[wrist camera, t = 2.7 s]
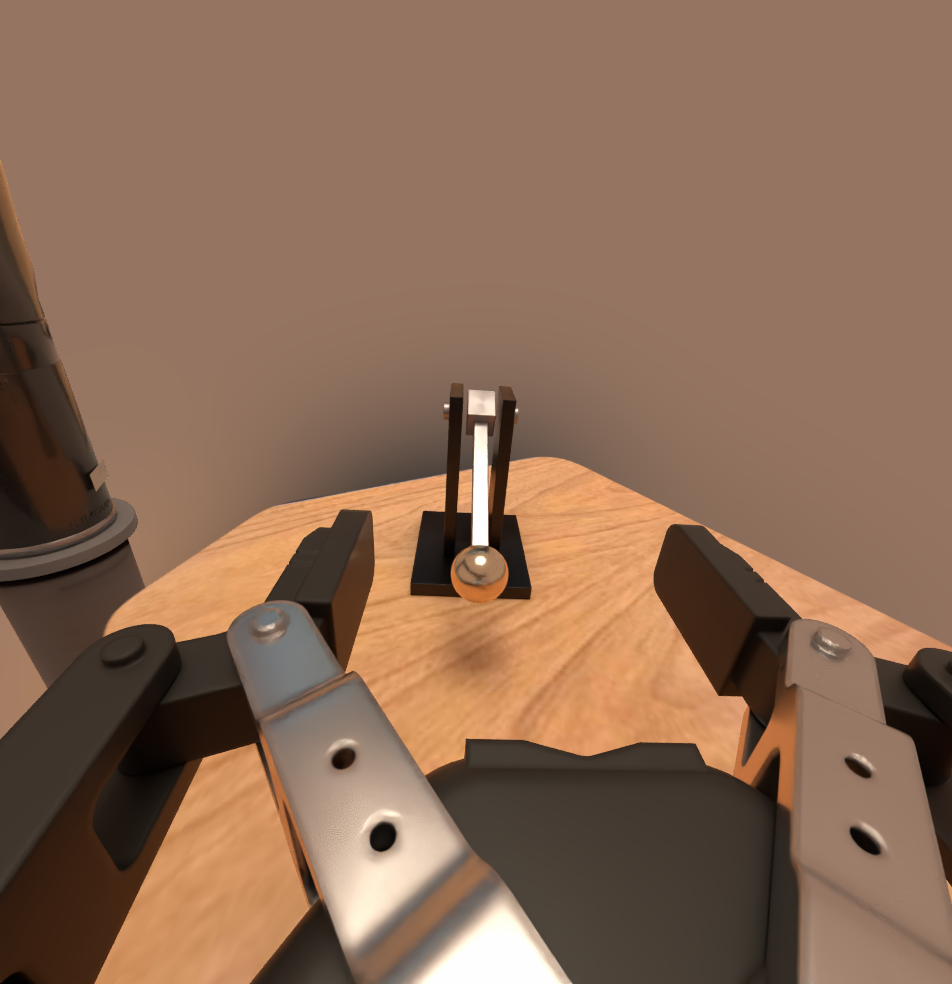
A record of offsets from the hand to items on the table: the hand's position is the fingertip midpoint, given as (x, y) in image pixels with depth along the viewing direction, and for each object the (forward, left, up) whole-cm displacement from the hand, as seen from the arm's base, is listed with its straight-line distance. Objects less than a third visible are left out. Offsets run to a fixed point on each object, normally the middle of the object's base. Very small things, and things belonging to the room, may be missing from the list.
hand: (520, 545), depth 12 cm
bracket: (0, +24, -18) cm, 30 cm away
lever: (0, +19, -8) cm, 20 cm away
